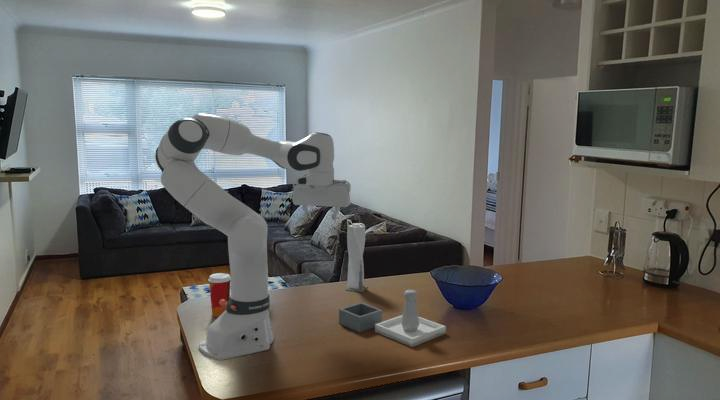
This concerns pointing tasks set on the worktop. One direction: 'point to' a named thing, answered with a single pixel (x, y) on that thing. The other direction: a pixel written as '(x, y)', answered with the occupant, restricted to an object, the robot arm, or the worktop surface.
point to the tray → (421, 335)
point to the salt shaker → (410, 312)
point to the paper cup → (219, 292)
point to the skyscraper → (355, 257)
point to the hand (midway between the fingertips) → (321, 218)
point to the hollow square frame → (360, 316)
